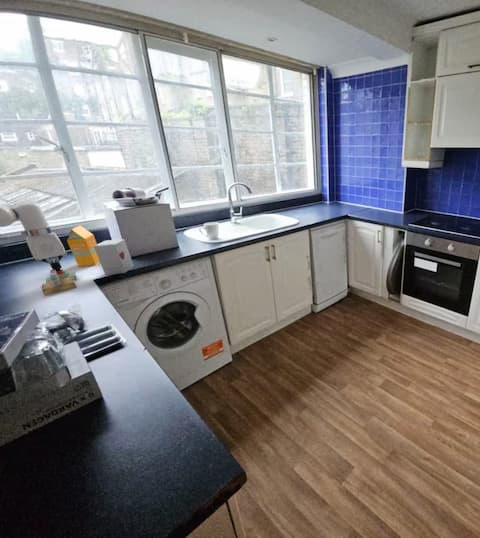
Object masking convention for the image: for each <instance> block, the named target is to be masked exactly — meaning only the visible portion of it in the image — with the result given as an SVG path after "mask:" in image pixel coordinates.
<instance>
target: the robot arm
mask: <svg viewBox="0 0 480 538" xmlns="http://www.w3.org/2000/svg"><path fill="white" fill-rule="evenodd" d="M16 222H20V223H21V225H22V227H23V229H24V230H23V231H20V234H21V236H27V237H25V240H26V243H27V246H28V248H29V251H30V254H31V256H32V257H33V259H34V262H36V263H41V262H43V263H46V264H49V265H50V267H51V270H54V269H55V270H56V272H57V271H61V270H62V265H61V263H60V261H61V260H62V258H64V257H67V256H68V255H69V254H68V252H67V251H66V250H65V247H64V245H63V243H62V241H61V239H60V238H59V236H58V235H57V234H56V232H55V231H52V228H51V226H50V224H49V222H48V220H47V218H46V216H45V214H44V211H43V210H42V208H41V206H40V204H38V202H24V203H18V204H0V228H5V227H9V226H11V225H12V224H14V223H16ZM51 258H54V260H52V259H51Z"/></svg>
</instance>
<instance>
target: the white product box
mask: <svg viewBox="0 0 480 538" xmlns="http://www.w3.org/2000/svg"><path fill="white" fill-rule="evenodd" d="M94 248H95V251H96V253H97V256H98V258H99V261H100V262H99V263H100V266H101V269H102V270H103V273H104V276H105V275H106V276H107V275H118V274H120V275H121V274H125V273H127V272H128V271H130V270H132V269H133V268H134V267H135V266H134V262H133V259H132V257H131V254H130V251H129V249H128V246H127V243H126V240H125V239H124V238H123V239H121V238H120V239H109V240H108V239H107V240H103V241H102V242H99V243H97V245H95V246H94Z"/></svg>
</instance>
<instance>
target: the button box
mask: <svg viewBox="0 0 480 538" xmlns="http://www.w3.org/2000/svg"><path fill="white" fill-rule="evenodd" d="M63 271H64V274H61V275H58V277H59V279H60V280H61V279H65V278H69V277H73V279H74V278H75V279H74V281H75V282H76V281H78V275H77V273H76V272H75V271H72V272H69V270H63ZM52 281H53V280H52V278H51V276H50V275H49V277H47V278H45V283H48V282H52Z"/></svg>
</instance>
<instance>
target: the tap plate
mask: <svg viewBox="0 0 480 538" xmlns="http://www.w3.org/2000/svg"><path fill="white" fill-rule="evenodd" d="M74 279H75V278H74ZM74 279H73V277H69V278H65V279H61V280H60V285H56V286H55V284H54V282H53V281H52V282H48V283H46V282H44V283H41V285H40V288H41V291H42V293H43V295H44V296H50V295H53V294H58V293H61V292H66V291H69V290H73V289H77V284H76V280H75V281H74Z"/></svg>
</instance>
